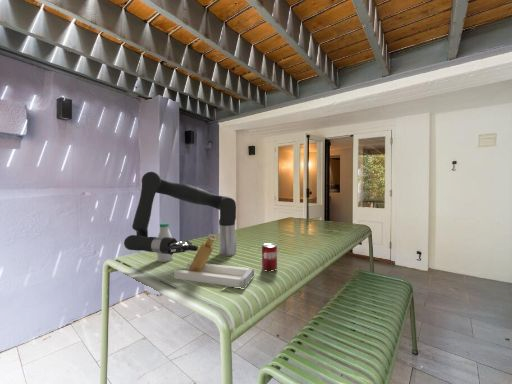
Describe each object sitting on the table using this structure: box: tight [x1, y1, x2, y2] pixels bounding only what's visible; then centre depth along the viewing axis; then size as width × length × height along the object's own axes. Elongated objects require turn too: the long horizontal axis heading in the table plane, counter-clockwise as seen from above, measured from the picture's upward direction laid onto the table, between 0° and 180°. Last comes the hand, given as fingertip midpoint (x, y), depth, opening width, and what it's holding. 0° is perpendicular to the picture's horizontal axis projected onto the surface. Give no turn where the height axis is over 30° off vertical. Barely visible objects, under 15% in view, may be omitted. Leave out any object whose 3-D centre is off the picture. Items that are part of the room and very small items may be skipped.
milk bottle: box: [156, 222, 174, 263], centre depth 129 cm, size 8×8×20 cm
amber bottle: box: [189, 234, 217, 272], centre depth 106 cm, size 6×6×19 cm
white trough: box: [173, 261, 255, 289], centre depth 105 cm, size 32×13×4 cm, turn 73°
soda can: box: [261, 242, 278, 271], centre depth 115 cm, size 7×7×12 cm
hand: (197, 248), depth 107 cm, fingers closed
